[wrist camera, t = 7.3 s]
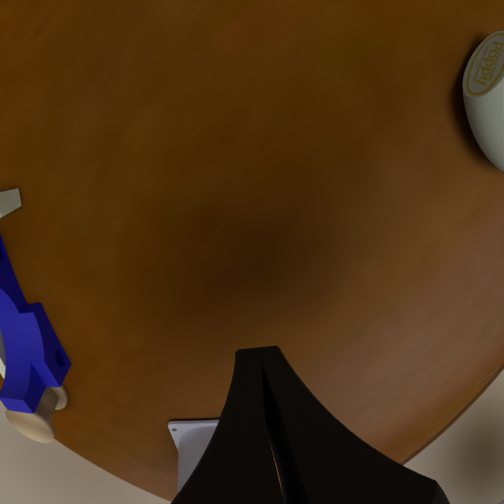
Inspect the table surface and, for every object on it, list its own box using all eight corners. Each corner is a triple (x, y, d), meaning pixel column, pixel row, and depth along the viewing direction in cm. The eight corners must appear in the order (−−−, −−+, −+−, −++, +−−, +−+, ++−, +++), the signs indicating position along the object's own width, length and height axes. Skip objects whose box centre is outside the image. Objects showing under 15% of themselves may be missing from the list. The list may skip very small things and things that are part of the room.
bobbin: (75, 406, 23) (62, 446, 19) (37, 401, 23) (22, 437, 18) (55, 371, 22) (36, 413, 17) (17, 366, 21) (-4, 404, 17)
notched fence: (80, 378, 22) (72, 399, 20) (21, 372, 21) (11, 390, 19) (18, 187, 16) (-3, 197, 13) (-42, 203, 15) (-62, 213, 13)
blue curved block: (71, 362, 22) (48, 415, 16) (33, 362, 21) (8, 410, 16) (14, 225, 17) (-37, 261, 11) (-23, 237, 16) (-71, 271, 11)
